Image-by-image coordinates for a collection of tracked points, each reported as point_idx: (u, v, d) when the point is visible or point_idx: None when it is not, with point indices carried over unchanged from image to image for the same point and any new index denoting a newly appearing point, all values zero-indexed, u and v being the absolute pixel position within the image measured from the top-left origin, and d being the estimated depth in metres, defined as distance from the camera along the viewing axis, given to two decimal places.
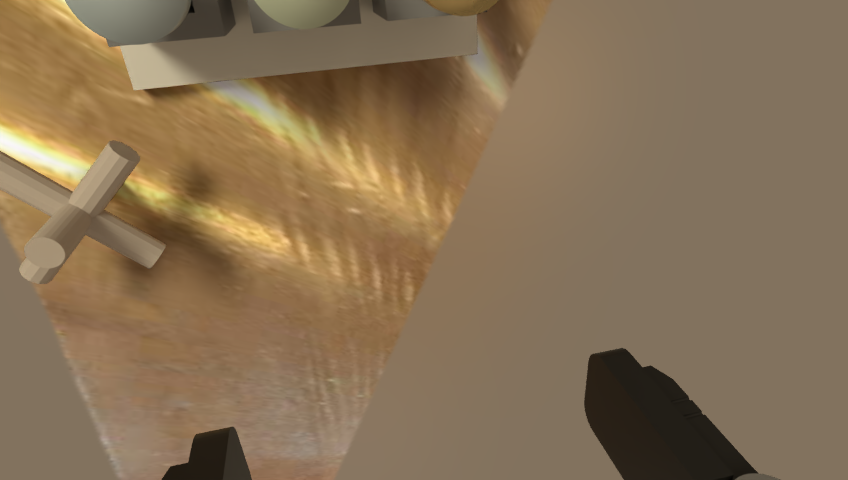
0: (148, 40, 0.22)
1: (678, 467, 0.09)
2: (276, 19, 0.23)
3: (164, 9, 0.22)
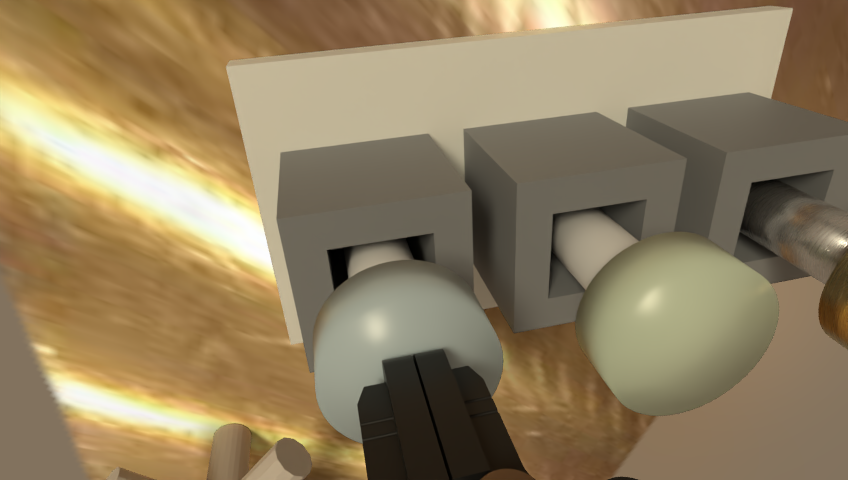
0: None
1: (446, 463, 0.10)
2: (636, 409, 0.14)
3: None
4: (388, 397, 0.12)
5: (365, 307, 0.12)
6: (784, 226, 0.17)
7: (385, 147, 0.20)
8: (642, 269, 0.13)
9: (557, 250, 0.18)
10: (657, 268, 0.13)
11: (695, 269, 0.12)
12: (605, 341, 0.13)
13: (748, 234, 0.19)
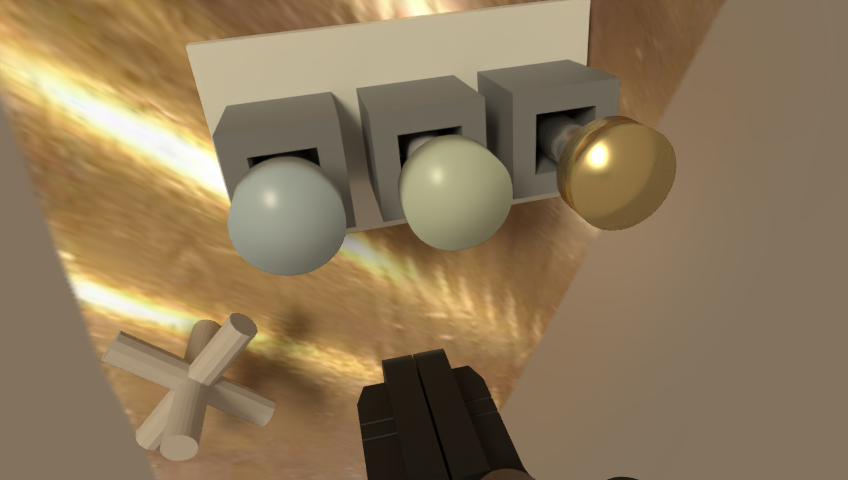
0: (307, 270, 0.23)
1: (446, 463, 0.10)
2: (432, 245, 0.23)
3: (325, 243, 0.22)
4: (388, 397, 0.12)
5: (254, 177, 0.21)
6: (556, 142, 0.26)
7: (297, 100, 0.28)
8: (423, 153, 0.22)
9: None
10: (430, 151, 0.22)
11: (447, 149, 0.21)
12: (403, 197, 0.22)
13: (545, 153, 0.28)
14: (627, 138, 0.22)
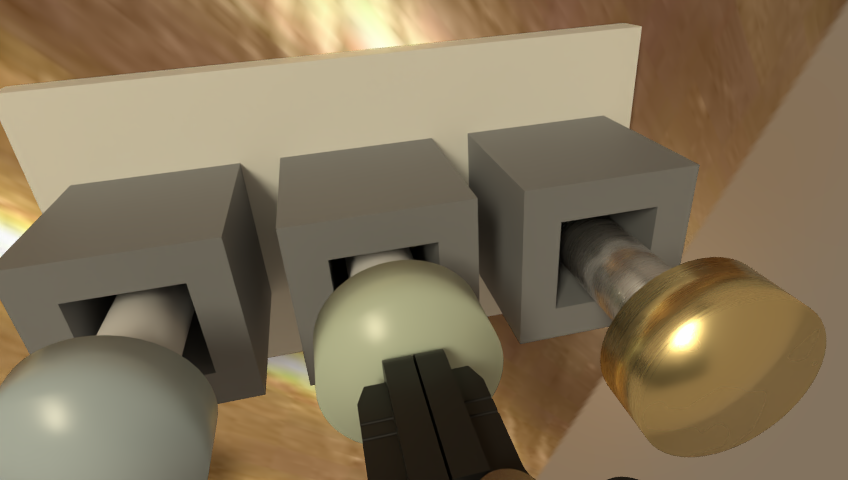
0: None
1: (446, 463, 0.10)
2: None
3: None
4: (388, 397, 0.12)
5: (2, 402, 0.10)
6: (593, 271, 0.16)
7: (181, 180, 0.18)
8: (350, 300, 0.13)
9: (347, 272, 0.18)
10: (361, 300, 0.12)
11: (388, 302, 0.12)
12: (315, 374, 0.13)
13: (573, 275, 0.18)
14: (748, 318, 0.11)
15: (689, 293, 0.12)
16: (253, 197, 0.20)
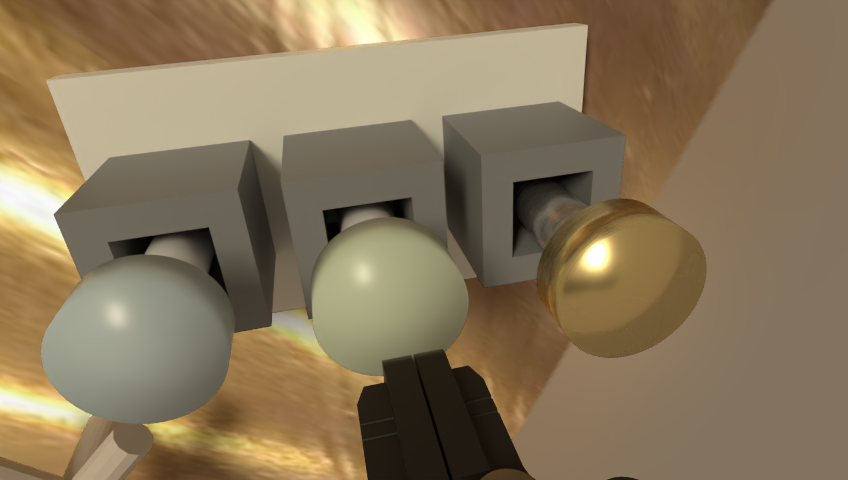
0: (175, 416, 0.16)
1: (446, 463, 0.10)
2: (356, 370, 0.16)
3: (199, 380, 0.15)
4: (388, 397, 0.12)
5: (80, 294, 0.14)
6: (539, 221, 0.19)
7: (201, 152, 0.22)
8: (341, 247, 0.15)
9: None
10: (349, 246, 0.15)
11: (371, 246, 0.15)
12: (312, 309, 0.15)
13: (526, 229, 0.21)
14: (639, 238, 0.15)
15: (597, 222, 0.15)
16: (260, 169, 0.23)
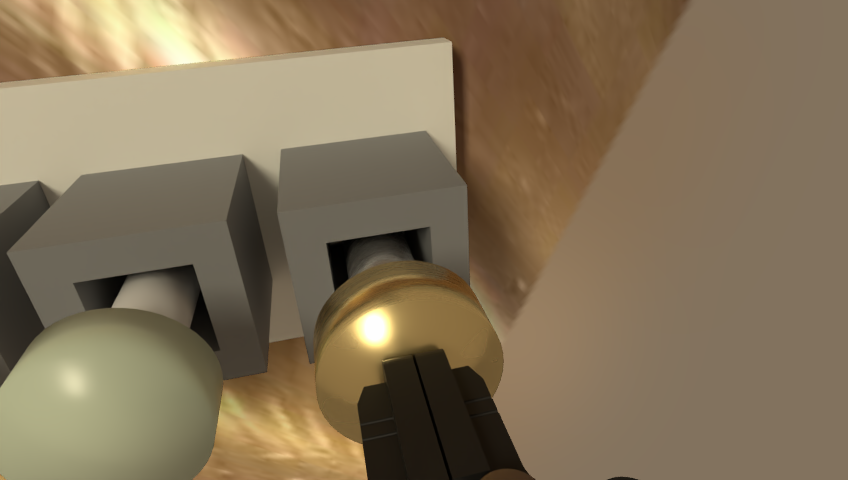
0: None
1: (446, 463, 0.10)
2: None
3: None
4: (388, 397, 0.12)
5: None
6: (350, 273, 0.17)
7: None
8: (27, 355, 0.12)
9: None
10: (32, 356, 0.11)
11: (47, 361, 0.11)
12: None
13: None
14: (402, 317, 0.12)
15: (361, 294, 0.13)
16: None
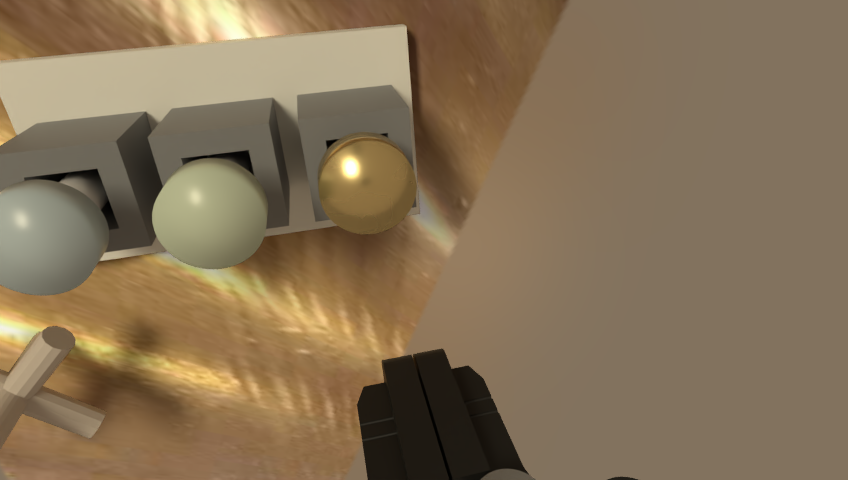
0: (62, 290, 0.23)
1: (446, 463, 0.10)
2: (189, 263, 0.24)
3: (76, 264, 0.23)
4: (388, 397, 0.12)
5: None
6: None
7: (105, 119, 0.29)
8: (173, 176, 0.23)
9: None
10: (177, 174, 0.23)
11: (188, 173, 0.22)
12: (154, 218, 0.23)
13: None
14: (362, 152, 0.24)
15: (342, 144, 0.25)
16: None
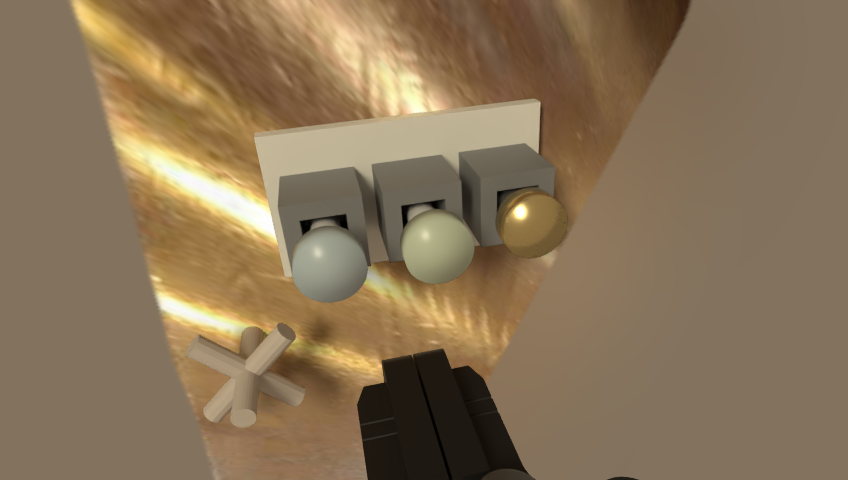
0: (341, 299, 0.34)
1: (446, 463, 0.10)
2: (421, 280, 0.35)
3: (353, 282, 0.34)
4: (388, 397, 0.12)
5: (310, 241, 0.32)
6: (499, 198, 0.40)
7: (330, 174, 0.40)
8: (417, 222, 0.34)
9: (407, 220, 0.39)
10: (421, 222, 0.34)
11: (432, 221, 0.33)
12: (404, 250, 0.34)
13: None
14: (535, 203, 0.35)
15: (519, 197, 0.36)
16: (357, 182, 0.42)
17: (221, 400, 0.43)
